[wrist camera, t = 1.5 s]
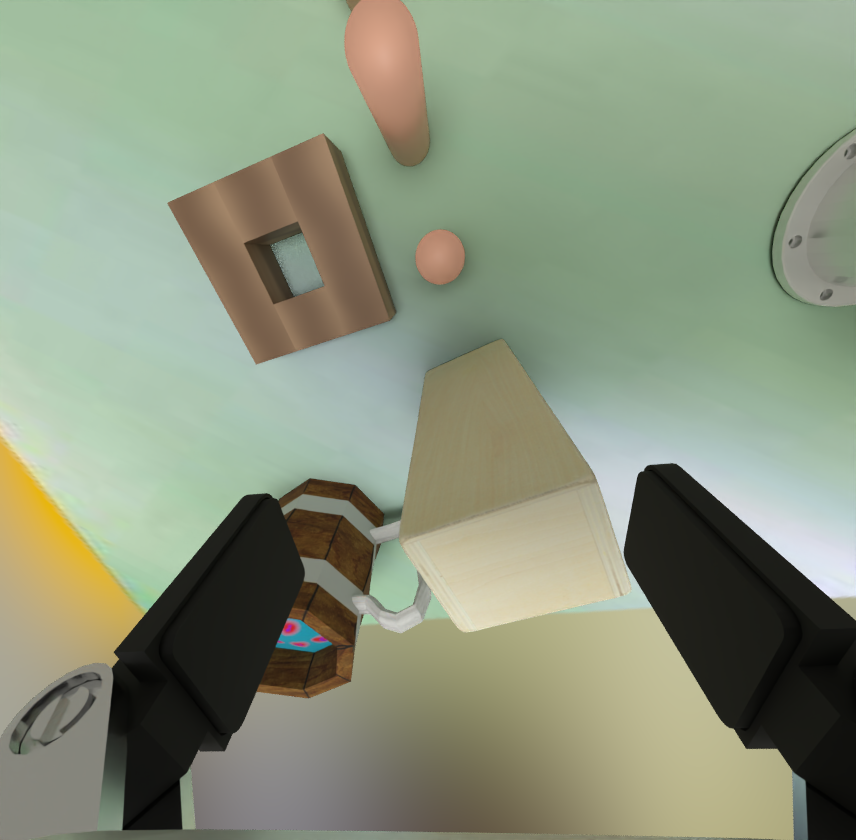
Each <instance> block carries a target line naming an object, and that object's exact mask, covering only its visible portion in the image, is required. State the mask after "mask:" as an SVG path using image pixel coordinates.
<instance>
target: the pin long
mask: <svg viewBox="0 0 856 840" xmlns="http://www.w3.org/2000/svg"><path fill="white" fill-rule="evenodd" d="M345 54H346V59H347V63H348V66H349V68H350V71H351V73H352V75H353V77H354V79H355V81H356V83H357V85H358V87H359V89H360V91H361V93H362V95H363V97H364V99H365V101H366V103H367V105H368V107H369V109H370V111H371V113H372V115H373V117H374V119H375V121H376V123H377V125H378V127H379V129H380V131H381V133H382V135H383V137H384V139H385V141H386V143H387V145H388V147H389V149H390V151H391V153H392V155H393V157H394V158H395V159H396V161H397V162H399V163H400V164H402V165H404V166H415V165H417V164H419V163H420V162H421V161H422V160H423V159H424V158H425V156H426V155H427V153H428V150H429V145H430V136H429V127H428V118H427V110H426V101H425V92H424V83H423V74H422V66H421V57H420V48H419V39H418V33H417V28H416V25H415V22H414V20H413V17H412V15H411V13H410V12H409V10H408V9H407V7H406V6H405V5H404V4H403V3H402V2H401V1H400V0H361V1H359V2H358V4H357V5H356V6H355V7H354V9H353V11H352V12H351V14H350V16H349V19H348V22H347V26H346V30H345Z"/></svg>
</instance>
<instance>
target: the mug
mask: <svg viewBox="0 0 856 840" xmlns="http://www.w3.org/2000/svg"><path fill="white" fill-rule="evenodd" d="M278 502H279V504H280V507H281V509H282V512H283V514H284V517H285V519H286V522H287V524H288V527H289V530H290V532H291V535H292V537H293V540H294V542H295V545H296V547H297V550H298V553H299V555H300V558H301V560H302V563H303V565H304V568H305V577H304V581H303V584H302V586H301V589H300V591H299V593H298V596H297V598H296V600H295V603H294V605H293V607H292V610H291V612H290V614H289V617H288V619H287V621H286V624H285V626H284V628H283V631H282V633H281V635H280V638H279V640H278V642H277V645H276V647H275V649H274V652H273V654H272V656H271V659H270V661H269V663H268V666H267V668H266V670H265V673H264V675H263V677H262V680H261V682H260V684H259V687H258V689H257V691H256V692H263V693H271V694H279V695H287V696H294V697H302V698H311V697H313V696H316V695H318V694H321V693H323V692H326V691H328V690H331V689H333V688H336V687H338V686H341V685H343V684H346V683H348V682H351V675H352V668H353V659H354V651H355V646H356V642H357V637H358V633H359V628H360V625H361V622H362V618H363V615H364V614H371V615H372V616H373V617H374V618H375V619H376V620H377V621H378V622H379V624H380V625H381V626H382V627H383V628H384V629H388V630H392V631H395V632H399V633H402V632H404V631H406V630H408V629H410V628H411V627H413V626H415V625H417V624H419V623H421V622H422V621H423V619H424V616H425V613H426V611H427V608H428V605H429V602H430V600H431V589H430V588H429V586H428V585H427V583H426V582H425V580H424V579H423V578H422V576H421V575H420V573H419V572H418V570H417V573H418V582H419V586H418V589H417V593H416V596H415V599H414V603H413V605H411V606H409V607H408V608H406V609H404V610H402V611H400V612H398V613H396V612H393V611H390V610H387V609H385V608H384V607H383V606H382V604H381V603H380V602H379V601H378V600H377V599H376V598H374V597H373V596H371V595H369V590H370V582H371V575H372V570H373V566H374V562H375V559H376V556H377V553H378V551H379V548H380V545H381V543H383V542H386V541H390V540H393V539H396V538H399V529H400V522H401V520H400V521H397V522H394V523H391V524H388V525H385V526H383V520H384V513H383V512H382V511H381V510H380V509H379V508H378V507H377V506H376V505H375V504H374V503H373V502H372V501H371V500H370V499H369V498H368V497H367V496H366V495H365V494H364V493H363V492H362V491H361V490H360V489H359V488H358V487H357V486H356V485H352V484H345V483H338V482H331V481H324V480H317V479H308V480H307V481H305V482H304V483H302V484H301V485H299V486H298V487H296V488H295V489H293V490H292V491H290V492H289V493H287V494H286V495H284V496H283V497H282V498H280V499H279V501H278Z"/></svg>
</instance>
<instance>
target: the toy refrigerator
mask: <svg viewBox="0 0 856 840" xmlns="http://www.w3.org/2000/svg"><path fill="white" fill-rule="evenodd" d="M399 542H400V544H401V546H402V548H403V550H404V552H405V553H406V555H407V556H408V557H409V559H410V560H411V562H412V563H413V565H414V566H415V568H416V569H417V570H418V572H419V573H420V575H421V576H422V578H423V579H424V580H425V582H426V583H427V585H428V586H429V588H430V589H431V591H432V592H433V593H434V595H435V596H436V598H437V599H438V601H439V602H440V603H441V605H442V606H443V608H444V609H445V611H446V612H447V614H448V615H449V617H450V618H451V619H452V621H453V622H454V623H455V625H456V626H457V627H458V628H459V629H460V630H461V631H462V632H471V631H477V630H481V629H485V628H489V627H493V626H497V625H502V624H506V623H510V622H514V621H518V620H523V619H527V618H531V617H535V616H540V615H544V614H548V613H552V612H557V611H561V610H565V609H570V608H574V607H578V606H582V605H587V604H591V603H595V602H599V601H604V600H608V599H613V598H617V597H620V596H623V595H627V594H628V593H630V592H631V590H632V589H631V584H630V581H629V578H628V575H627V571H626V568H625V565H624V562H623V559H622V556H621V553H620V549H619V546H618V543H617V540H616V537H615V534H614V531H613V528H612V525H611V521H610V518H609V515H608V512H607V509H606V506H605V503H604V500H603V497H602V494H601V491H600V488H599V485H598V482H597V480H596V477H595V475H594V473H593V471H592V470H591V468H590V467H589V465H588V464H587V462H586V461H585V459H584V458H583V456H582V455H581V453H580V452H579V450H578V449H577V447H576V446H575V444H574V443H573V441H572V440H571V438H570V437H569V435H568V434H567V432H566V431H565V429H564V428H563V426H562V425H561V423H560V422H559V420H558V419H557V417H556V416H555V415H554V413H553V412H552V410H551V409H550V407H549V406H548V404H547V403H546V401H545V400H544V398H543V397H542V395H541V394H540V392H539V391H538V389H537V388H536V386H535V385H534V384H533V382H532V381H531V379H530V378H529V376H528V375H527V373H526V372H525V370H524V369H523V367H522V366H521V364H520V363H519V361H518V360H517V358H516V357H515V355H514V354H513V352H512V351H511V349H510V348H509V346H508V345H507V343H506V342H505V340H504V339H499V340H496V341H494V342H492V343H489V344H487V345H485V346H482V347H480V348H478V349H476V350H473V351H471V352H469V353H467V354H464V355H462V356H460V357H458V358H456V359H453V360H451V361H449V362H447V363H444V364H442V365H440V366H438V367H436V368H433V369H431V370H429V371H428V372H426V374H425V379H424V385H423V391H422V397H421V404H420V409H419V415H418V422H417V428H416V435H415V440H414V446H413V451H412V457H411V463H410V469H409V474H408V480H407V486H406V493H405V498H404V504H403V510H402V516H401V522H400V529H399Z"/></svg>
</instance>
